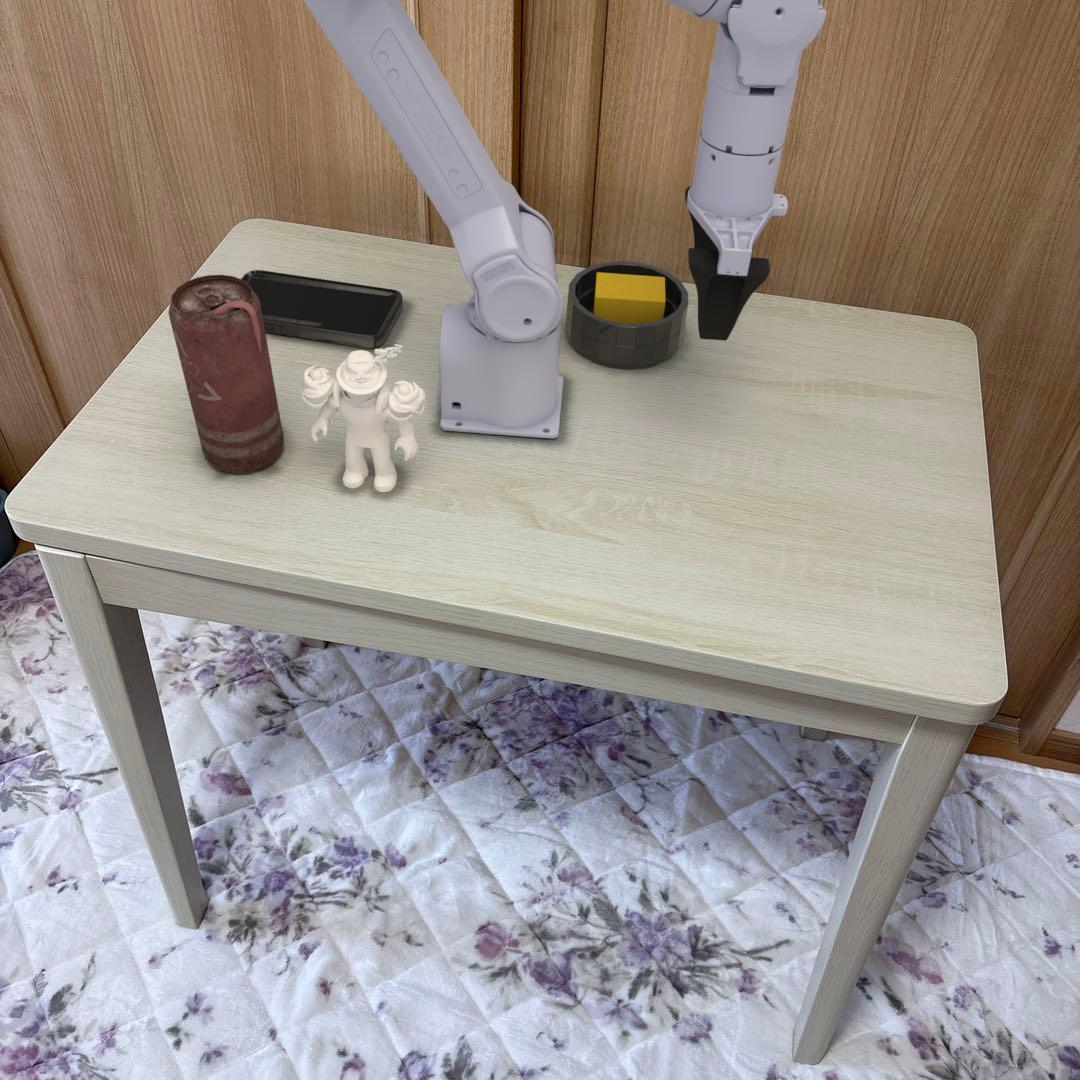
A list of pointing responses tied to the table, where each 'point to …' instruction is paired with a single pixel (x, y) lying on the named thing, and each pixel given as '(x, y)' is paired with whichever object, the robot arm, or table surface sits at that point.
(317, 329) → the phone
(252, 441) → the can
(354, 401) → the flower shoulder figurine
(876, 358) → the table surface
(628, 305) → the sponge
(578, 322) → the bowl
